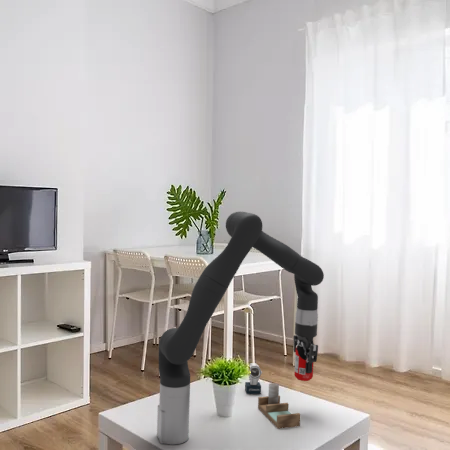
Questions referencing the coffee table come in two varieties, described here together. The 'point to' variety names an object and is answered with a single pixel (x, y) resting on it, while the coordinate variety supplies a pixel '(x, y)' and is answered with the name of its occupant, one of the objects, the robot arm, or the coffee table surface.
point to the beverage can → (301, 365)
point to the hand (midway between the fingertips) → (303, 369)
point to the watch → (253, 380)
